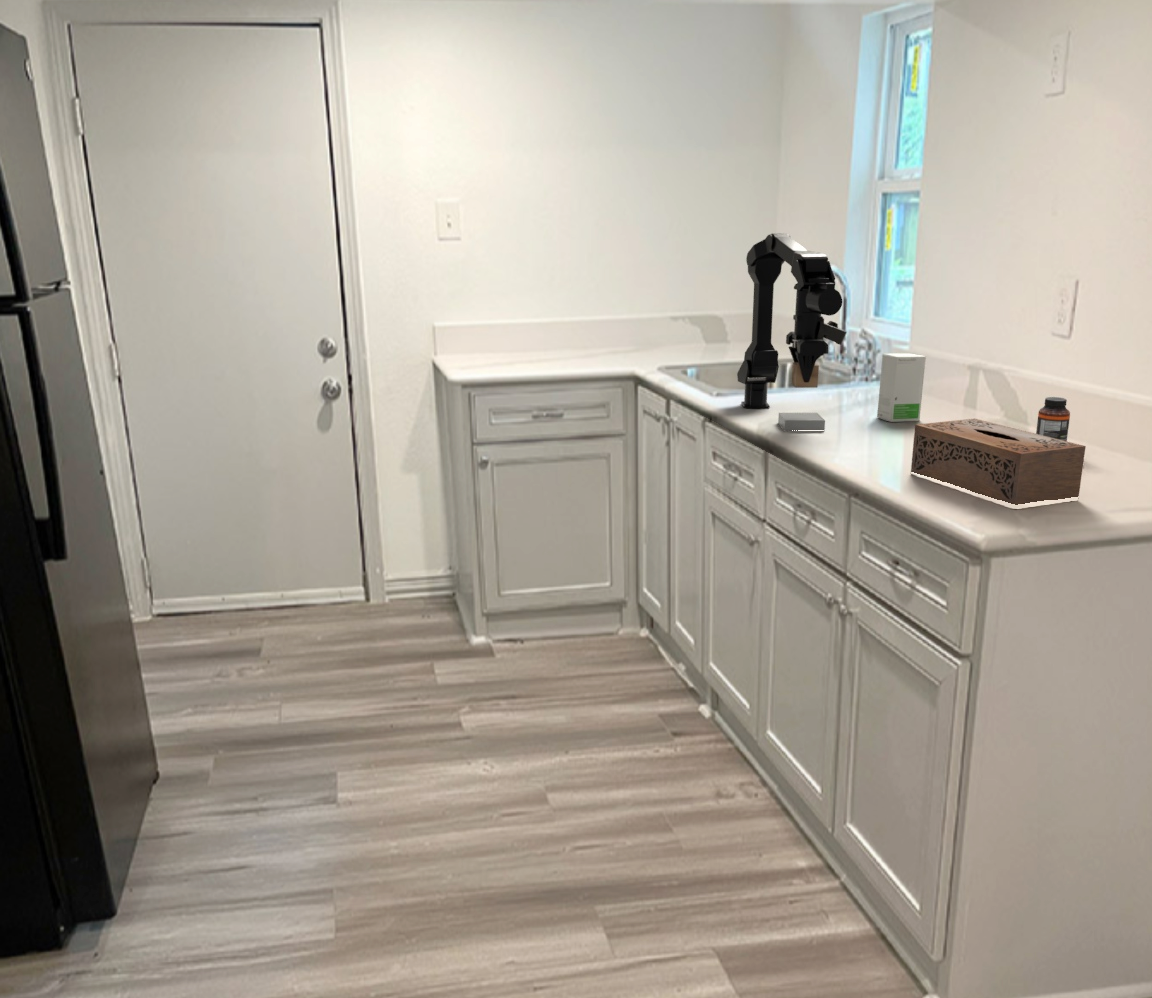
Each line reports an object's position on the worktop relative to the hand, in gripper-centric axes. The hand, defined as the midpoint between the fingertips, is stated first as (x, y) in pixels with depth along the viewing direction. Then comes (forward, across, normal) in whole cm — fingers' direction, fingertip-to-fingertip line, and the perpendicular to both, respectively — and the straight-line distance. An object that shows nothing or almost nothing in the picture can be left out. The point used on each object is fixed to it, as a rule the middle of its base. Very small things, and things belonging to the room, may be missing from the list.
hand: (804, 380), depth 233 cm
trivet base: (+11, 0, 0) cm, 11 cm away
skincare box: (+11, +10, -25) cm, 29 cm away
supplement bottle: (+11, -24, -47) cm, 54 cm away
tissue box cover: (+12, -52, -25) cm, 59 cm away
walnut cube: (+1, 0, 0) cm, 1 cm away
